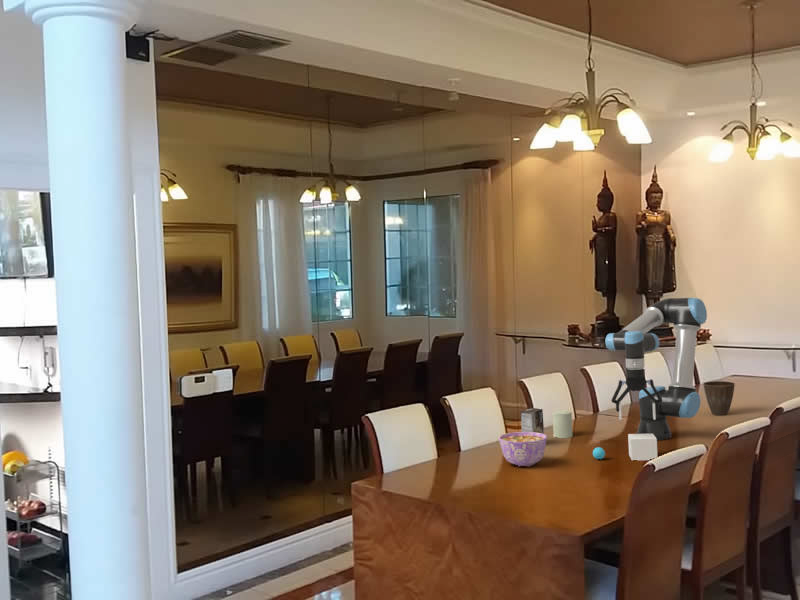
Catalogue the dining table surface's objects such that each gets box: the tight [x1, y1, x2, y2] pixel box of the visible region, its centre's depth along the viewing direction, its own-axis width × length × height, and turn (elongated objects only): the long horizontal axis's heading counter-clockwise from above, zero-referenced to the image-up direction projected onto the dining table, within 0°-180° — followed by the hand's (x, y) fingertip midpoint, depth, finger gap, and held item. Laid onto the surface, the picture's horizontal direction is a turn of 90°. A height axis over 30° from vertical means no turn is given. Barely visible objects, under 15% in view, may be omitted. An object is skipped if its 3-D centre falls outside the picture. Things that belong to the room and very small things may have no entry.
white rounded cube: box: [627, 433, 658, 461], centre depth 336 cm, size 10×10×9 cm
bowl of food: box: [498, 431, 548, 467], centre depth 336 cm, size 20×20×12 cm
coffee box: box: [520, 407, 545, 434], centre depth 370 cm, size 9×6×16 cm
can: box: [551, 409, 574, 439], centre depth 385 cm, size 9×9×12 cm
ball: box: [592, 446, 606, 460], centre depth 337 cm, size 5×5×5 cm
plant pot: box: [703, 380, 736, 417], centre depth 414 cm, size 15×15×16 cm
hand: (637, 419), depth 336 cm, fingers open, 13 cm apart
